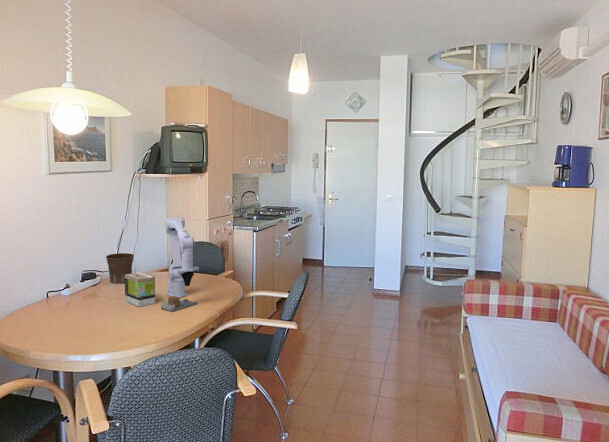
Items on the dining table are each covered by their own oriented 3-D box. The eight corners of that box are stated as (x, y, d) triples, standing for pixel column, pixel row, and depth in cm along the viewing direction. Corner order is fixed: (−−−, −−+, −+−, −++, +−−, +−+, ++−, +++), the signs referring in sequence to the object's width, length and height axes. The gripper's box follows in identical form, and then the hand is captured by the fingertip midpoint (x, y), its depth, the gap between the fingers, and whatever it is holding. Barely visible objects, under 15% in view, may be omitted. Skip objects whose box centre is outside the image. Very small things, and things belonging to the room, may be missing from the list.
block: (167, 307, 243) (167, 297, 242) (174, 305, 246) (174, 295, 246) (173, 308, 241) (173, 299, 240) (179, 306, 244) (179, 297, 243)
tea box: (156, 303, 251) (155, 276, 249) (138, 307, 244) (137, 279, 242) (141, 297, 261) (141, 271, 259) (124, 301, 254) (123, 274, 252)
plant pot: (128, 285, 286) (128, 258, 284) (102, 284, 286) (101, 258, 284) (138, 278, 302) (138, 253, 300) (113, 277, 302) (112, 252, 300)
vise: (161, 309, 242) (161, 302, 241) (186, 301, 256) (186, 295, 255) (171, 312, 237) (171, 305, 237) (197, 304, 252) (197, 297, 251)
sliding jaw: (173, 304, 247) (173, 298, 246) (176, 303, 249) (176, 297, 248) (180, 306, 244) (180, 300, 243) (184, 305, 246) (184, 299, 245)
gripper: (181, 263, 240) (182, 290, 242) (202, 259, 252) (202, 284, 254) (172, 261, 244) (172, 287, 246) (193, 257, 256) (193, 282, 258)
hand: (187, 285), depth 250 cm, fingers closed
